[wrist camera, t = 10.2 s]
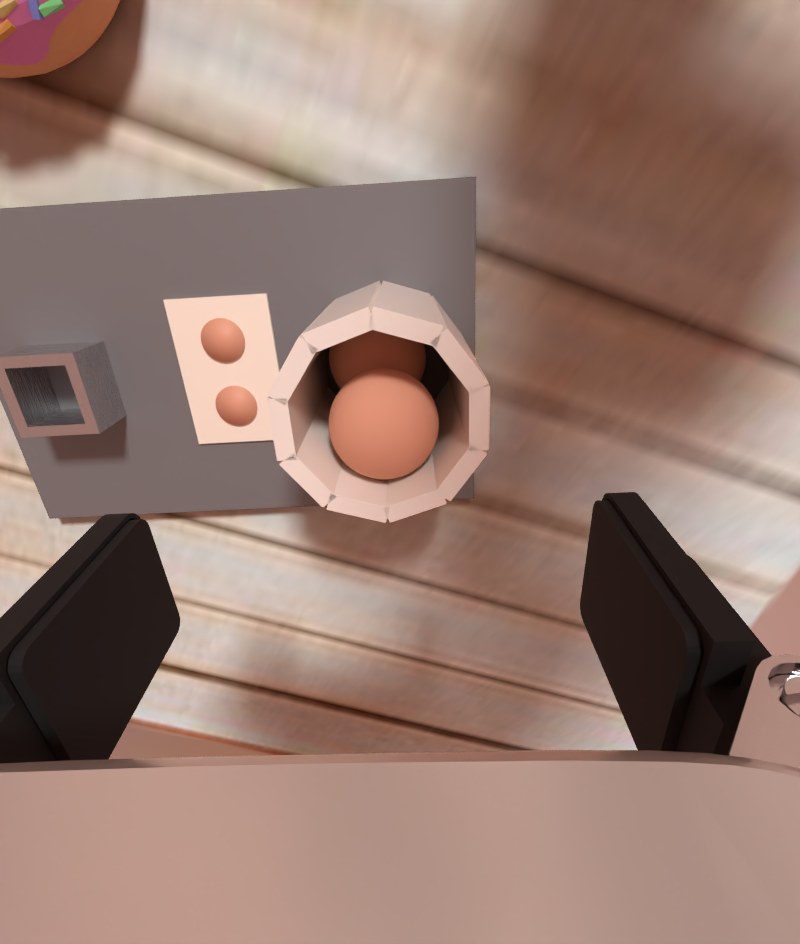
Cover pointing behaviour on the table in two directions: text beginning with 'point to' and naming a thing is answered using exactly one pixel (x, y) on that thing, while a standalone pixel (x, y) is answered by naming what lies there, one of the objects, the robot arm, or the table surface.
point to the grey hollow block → (36, 396)
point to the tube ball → (376, 356)
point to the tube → (310, 399)
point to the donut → (49, 33)
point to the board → (212, 325)
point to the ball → (383, 423)
